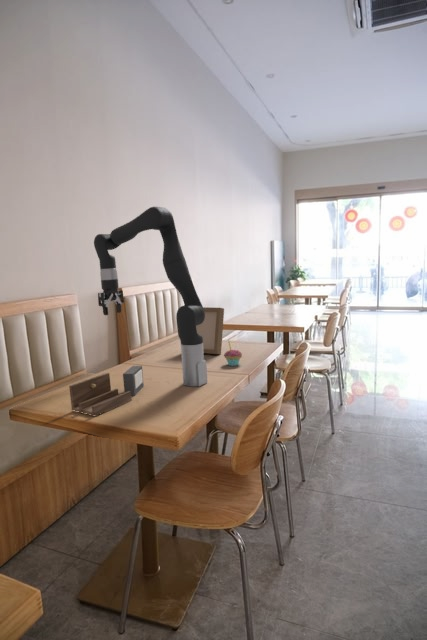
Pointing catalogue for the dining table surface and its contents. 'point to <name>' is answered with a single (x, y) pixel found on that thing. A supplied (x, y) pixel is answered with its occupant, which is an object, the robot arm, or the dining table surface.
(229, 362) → the cupcake
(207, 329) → the photo frame
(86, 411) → the picture ledge
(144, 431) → the dining table surface
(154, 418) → the dining table surface
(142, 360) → the dining table surface
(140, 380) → the mini frame
